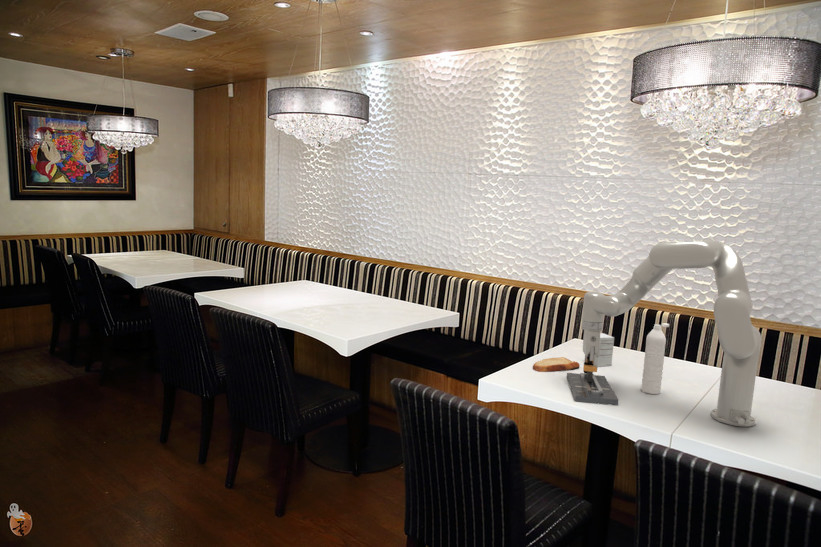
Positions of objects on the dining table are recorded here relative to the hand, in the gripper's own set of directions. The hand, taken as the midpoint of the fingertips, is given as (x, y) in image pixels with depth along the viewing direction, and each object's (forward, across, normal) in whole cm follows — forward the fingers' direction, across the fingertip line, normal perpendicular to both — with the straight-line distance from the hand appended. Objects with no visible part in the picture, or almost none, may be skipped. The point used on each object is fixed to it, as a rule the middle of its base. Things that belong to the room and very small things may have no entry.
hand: (587, 372), depth 212 cm
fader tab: (+2, -4, 0) cm, 4 cm away
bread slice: (+5, +17, +10) cm, 20 cm away
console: (+4, -8, 0) cm, 9 cm away
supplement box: (+4, +28, -9) cm, 29 cm away
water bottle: (+4, -2, -23) cm, 23 cm away
